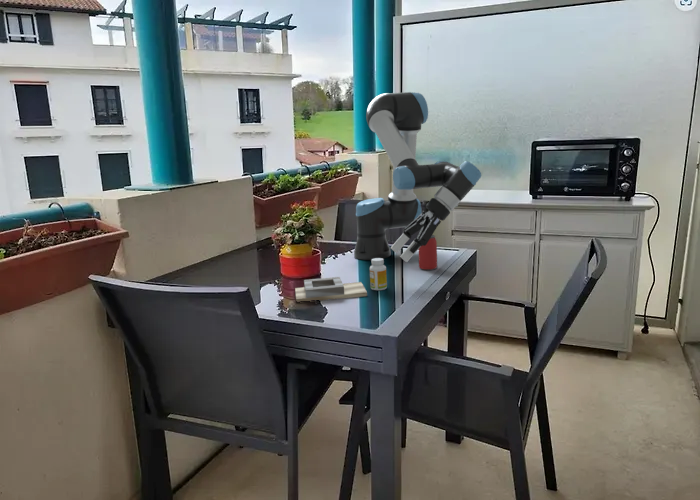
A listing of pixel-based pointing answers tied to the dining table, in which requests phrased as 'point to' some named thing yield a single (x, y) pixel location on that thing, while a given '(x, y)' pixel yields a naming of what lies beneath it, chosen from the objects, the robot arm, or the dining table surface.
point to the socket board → (347, 291)
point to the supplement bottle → (378, 274)
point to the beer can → (428, 255)
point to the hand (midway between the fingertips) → (398, 255)
